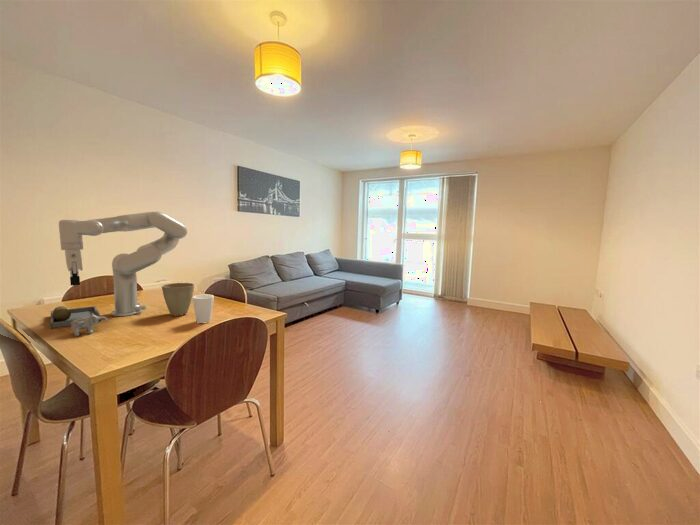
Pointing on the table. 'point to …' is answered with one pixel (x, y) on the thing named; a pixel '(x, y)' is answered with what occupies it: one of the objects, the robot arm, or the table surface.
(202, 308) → the foam cup
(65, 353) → the table surface
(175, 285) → the plant pot
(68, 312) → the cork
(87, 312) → the tray
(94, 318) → the gray elephant figurine
